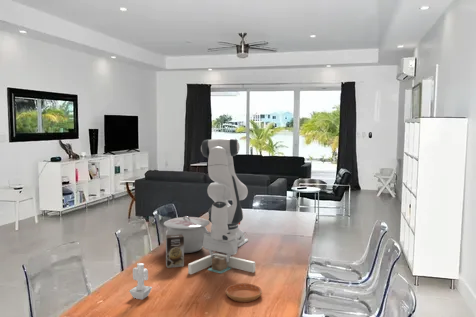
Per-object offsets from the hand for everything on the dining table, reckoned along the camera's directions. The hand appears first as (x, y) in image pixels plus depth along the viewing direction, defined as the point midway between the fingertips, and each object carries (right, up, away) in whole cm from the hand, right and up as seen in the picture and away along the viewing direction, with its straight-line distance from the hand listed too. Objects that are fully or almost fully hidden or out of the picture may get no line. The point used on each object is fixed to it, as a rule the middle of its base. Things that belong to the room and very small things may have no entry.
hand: (219, 259), depth 216 cm
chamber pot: (-21, -2, +33) cm, 39 cm away
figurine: (-33, -8, -34) cm, 48 cm away
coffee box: (-24, -5, +6) cm, 25 cm away
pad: (0, -5, 0) cm, 5 cm away
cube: (0, -5, 0) cm, 5 cm away
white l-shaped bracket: (+2, -6, -5) cm, 8 cm away
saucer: (+12, -8, -33) cm, 36 cm away
